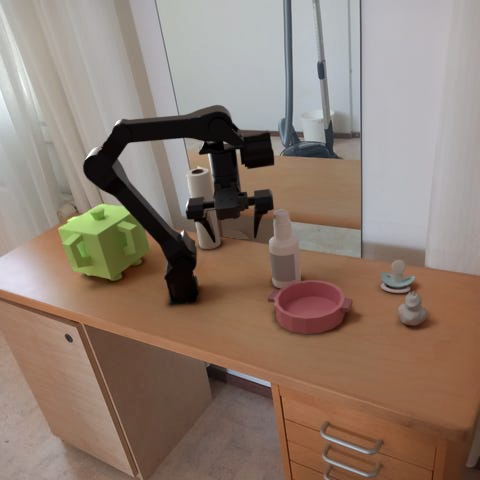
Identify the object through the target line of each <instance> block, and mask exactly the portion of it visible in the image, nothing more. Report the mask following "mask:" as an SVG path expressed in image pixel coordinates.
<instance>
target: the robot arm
mask: <svg viewBox="0 0 480 480" xmlns="http://www.w3.org/2000/svg"><path fill="white" fill-rule="evenodd" d="M178 139H192V140H197V141H200V142H202V143H201V145H199V147H198V153H197V154H198V155H199V156H203V155H204V156H205V155H207V156H208V161H209V162H208V163H209V167H210V174H211V179H212V180H211V182H212V186H213V198H214V201H209V202H206V200H205V197H197V198H191V197H190V198H188V200H187V201H186V205H185V216H186V220H188V221H193V222H194V223H195V222H199V223H201V224H202V225H203V226H204V228H205V229H206V231H207V232H208V234H209V236H210V237H211V239H212V241H213V243H216V239H215V233H214V229H213V225H212V221H211V217H210V213H209V211H211V210H215V211H216V217H217V221H218V220H219V221H225V220H230V219H231V220H232V219H233V220H236V219H239V218H240V217H241V212H245V210H249V209H250V207H253V238H254V239H255V240H256V239H257V238H258V237H257V235H258V232H259V227H260V223H261V221H262V218H263V216H264V215H268V213H269V212H270V211H273V210H274V209H275V205H274V196H273V195H274V194H273V191H272V189H270V188H267V189H258V190H257V189H256V190H253V196H249V195H248V192H247V191H242V186H241V178H240V170H239V163H238V154H237V150H238V151H239V157H240V165H241V166H244V168H246V169H247V170H252V169H259V168H266V167H272V166H273V167H274V166H275V152H274V149H273V143H272V139H271V132H270V130H269V129H267V130H262V131H259V132H254V133H249V134H248V133H247V134H243V131H242V130H241V128H239V127H238V126H237V125H236V124H235V122H233V118H232V114H231V112H230V110H228V109H227V108H226V107H225V106H224V105H221V104H214V105H210V106H207V107H202V108H199V109H197V110H195V111H193V112H190V113H189V112H188V113H186V114H180V115H179V114H178V115H169V116H157V117H143V118H132V119H127V118H122V119H118V120H117V121H116V122H115V124H114V126H113V127H112V131H111V132H110V134H109V135H108V136H107V138H106V139H105V140H104V142H103V143H102V145H101V146H96V147H94V148H93V149H92V150H91V151H90V152H89V154H88V155H87V157H86V158H85V159H84V161H83V163H82V173H83V175H84V177H85V178H86V179H87V180H88V181H89V182H91V183H92V184H93V185H94V186H96V187H97V188H98V189H99V190H101V191H103V192H105V193H106V194H109V195H111V196H113V197H114V198H115V199H116V200H117V201H118V202H119V203H120V204H121V206H122V205H123V206H124V207H125V208H126V209H127V210H128V212H129V213H130V214H131V215H132V216H133V217H134V218H135V219H136V220H137V221H138V222H139V223H140V224H141V226H142V227H143V228H144V229H145V232H146V233H148V234H149V235H150V236H151V238H152V239H153V240H154V241H155V242H156V243H157V244H158V245H159V248H160V249H161V251H162V253H163V255H164V258H165V259H166V262H165V269H164V276H163V278H164V281H165V284H166V287H167V290H168V291H167V292H168V295H169V301H168V303H169V305H171V306H173V305H183V304H192V303H196V302H197V300H198V296H199V295H200V286H199V282H198V276H197V275H195V273H194V271H195V270H196V267H197V262H198V261H197V259H198V258H197V257H198V248H197V246H196V240H195V239H193V238H192V237H190V235H189V234H188V232H187V231H186V230H185V229H183V230H182V231H181V232H178V231H176V230H174V229H173V228H172V227H171V226H170V225H169V224H168V223H167V221H166V220H165V219H164V218H163V217H162V216H161V215H160V214H159V212H157V210H156V209H155V208H154V207H153V205H151V204H150V202H149V201H148V200H147V199H146V197H144V195H142V194H141V192H139V190H138V189H137V188H136V187H135V186H134V185H133V183H132V182H131V181H130V179H129V177H128V175H127V173H126V171H125V169H124V166H123V164H122V163H121V162H120V160H119V157H120V156H121V154H123V152H124V150H125V148H126V147H127V146H128V144H131V143H145V142H157V141H165V140H166V141H168V140H178Z"/></svg>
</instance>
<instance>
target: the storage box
mask: <svg viewBox="0 0 480 480" xmlns="http://www.w3.org/2000/svg"><path fill="white" fill-rule="evenodd" d="M66 222H67V223H65V224H63V225H61V226H60V227H58V228H57V231H58V234H59V237H60V239H61V242H62V243H61V246H62V248H63V250H64V252H65V255H66V258H67V260H68V262H69V266H70V267H71V270H72V272H75V273H79V274H84V275H87V276H89V277H93V276H94V277H97V278H103V279H108V280H109V281H111V282H114V281H119V280H120V279H122V278H123V274H122V272H124V271H125V270H126V269H127V268H129V267H130V266H133V267H134V266H138V265H140V264H141V263H142V262H143V260H142V259H141V258H142V257H143V256H145V255H147V254H148V253H149V252H151V248H150V244H149V239H148V236H147V231H146V230H145V229H144V228H143V227H142V226H141V224H140V223H139V222H138V221H137V220H136V219H135V218H134V217H133V216H132V215H131V214H130V213H129V212H128V210H127V209H126V208H125V207H124V206H123V205H122V204H121V205H114V204H108V203H107V204H106V203H100V204H98V205H96V206H94V207H93V208H91V209H89V210H87V211H86V212H84V213H82V214H80V215H77V216H73V217H70V218H68V219H67V220H66Z"/></svg>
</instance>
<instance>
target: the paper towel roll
mask: <svg viewBox="0 0 480 480" xmlns="http://www.w3.org/2000/svg"><path fill="white" fill-rule="evenodd" d="M210 174H211V173H210V169H208V168H207V167H204V166H199V165H197V168H193V169H189V170H188V171H186V173H185V176H186V180H187V187H188V192H189V196H190V198H197V197H205V200H206V202H209V201H214V198H213V195H214V191H213V188H212V186H213V185H212V180H211V175H210ZM209 213H210V217H211V221H212V225H213V229H214V233H215V239H216V243H213V241H212V239H211V237H210V236H209V234H208V232H207V231H206V229H205V228H204V226H203V225H202V224H201V223H199V222H194V224H195V228H196V234H197V239H198V245H199V247H200V248H201V249H202V250H213V249H216V248H217V247H219V246H220V245H221V235H220V230H219V223H218V219H217V215H216V210H211V211H209Z"/></svg>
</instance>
